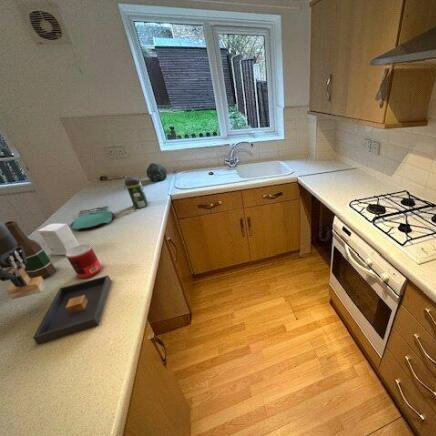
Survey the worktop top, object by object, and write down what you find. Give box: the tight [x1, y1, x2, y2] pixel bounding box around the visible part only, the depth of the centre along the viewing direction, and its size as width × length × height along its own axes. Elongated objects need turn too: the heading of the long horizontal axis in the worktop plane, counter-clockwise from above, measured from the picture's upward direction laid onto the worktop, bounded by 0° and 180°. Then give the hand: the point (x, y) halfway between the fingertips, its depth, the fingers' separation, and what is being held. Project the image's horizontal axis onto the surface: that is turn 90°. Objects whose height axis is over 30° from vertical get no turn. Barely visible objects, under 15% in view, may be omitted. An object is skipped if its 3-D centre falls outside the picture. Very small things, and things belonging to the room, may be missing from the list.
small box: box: [37, 223, 80, 256], centre depth 107 cm, size 8×6×13 cm
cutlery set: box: [70, 205, 115, 231], centre depth 138 cm, size 20×30×2 cm, turn 33°
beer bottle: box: [3, 220, 57, 280], centre depth 90 cm, size 8×8×24 cm
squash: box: [146, 162, 168, 182], centre depth 194 cm, size 14×15×15 cm
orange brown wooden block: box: [66, 295, 88, 314], centre depth 79 cm, size 4×4×3 cm
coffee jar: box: [124, 175, 149, 209], centre depth 148 cm, size 10×8×19 cm
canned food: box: [65, 243, 102, 279], centre depth 94 cm, size 8×8×11 cm
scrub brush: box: [6, 268, 47, 300], centre depth 75 cm, size 7×4×9 cm, turn 115°
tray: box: [32, 275, 112, 345], centre depth 80 cm, size 15×22×3 cm
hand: (23, 282), depth 75 cm, fingers closed on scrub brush, 2 cm apart
